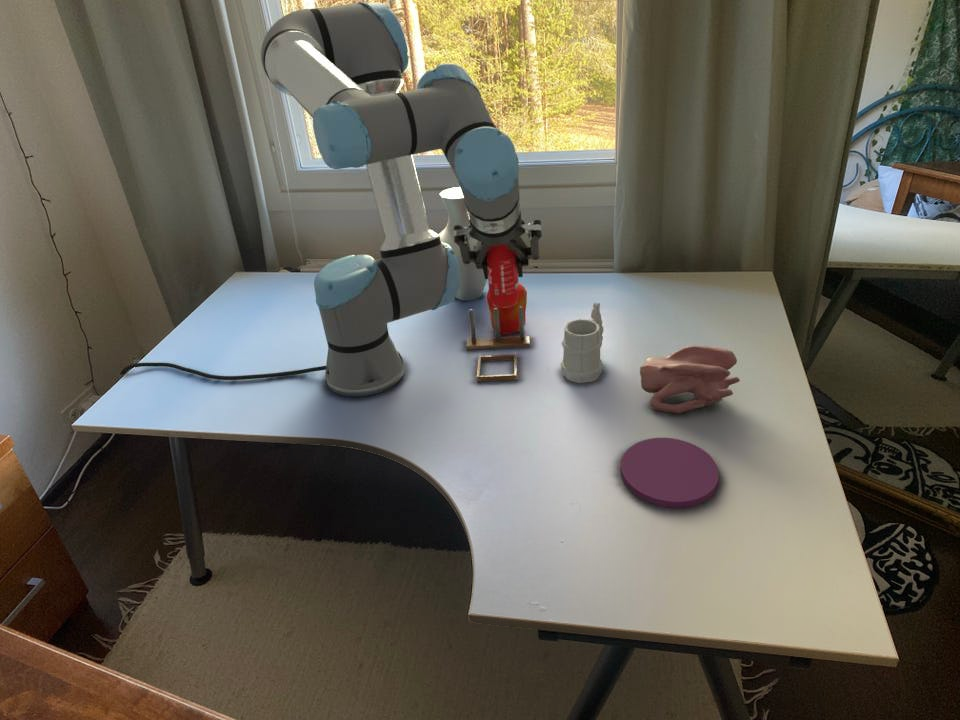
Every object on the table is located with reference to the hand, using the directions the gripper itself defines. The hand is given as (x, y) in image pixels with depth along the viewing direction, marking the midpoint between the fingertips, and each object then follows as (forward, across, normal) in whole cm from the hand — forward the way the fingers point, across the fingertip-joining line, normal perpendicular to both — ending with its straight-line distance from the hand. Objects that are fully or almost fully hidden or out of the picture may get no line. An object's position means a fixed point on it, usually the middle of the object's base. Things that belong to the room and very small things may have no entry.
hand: (503, 270), depth 111 cm
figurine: (+6, +31, -23) cm, 39 cm away
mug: (+14, +15, -16) cm, 25 cm away
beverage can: (+1, 0, -6) cm, 6 cm away
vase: (+38, -10, +9) cm, 40 cm away
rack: (+16, -3, -12) cm, 21 cm away
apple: (+25, 0, -4) cm, 25 cm away
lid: (-7, +24, -37) cm, 44 cm away
